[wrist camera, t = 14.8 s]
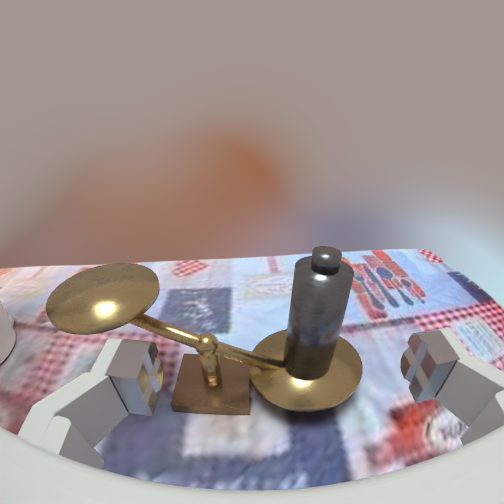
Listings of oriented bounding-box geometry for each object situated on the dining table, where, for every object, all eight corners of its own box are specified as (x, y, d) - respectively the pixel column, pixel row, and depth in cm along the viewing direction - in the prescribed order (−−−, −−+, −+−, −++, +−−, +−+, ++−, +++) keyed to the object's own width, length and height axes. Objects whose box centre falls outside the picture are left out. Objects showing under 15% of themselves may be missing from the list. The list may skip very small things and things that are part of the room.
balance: (74, 407, 25) (25, 321, 19) (107, 343, 36) (81, 263, 30) (366, 419, 24) (404, 327, 19) (342, 345, 35) (358, 258, 30)
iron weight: (284, 380, 26) (301, 265, 21) (281, 346, 30) (293, 239, 25) (334, 378, 26) (365, 266, 21) (325, 346, 30) (347, 241, 25)
